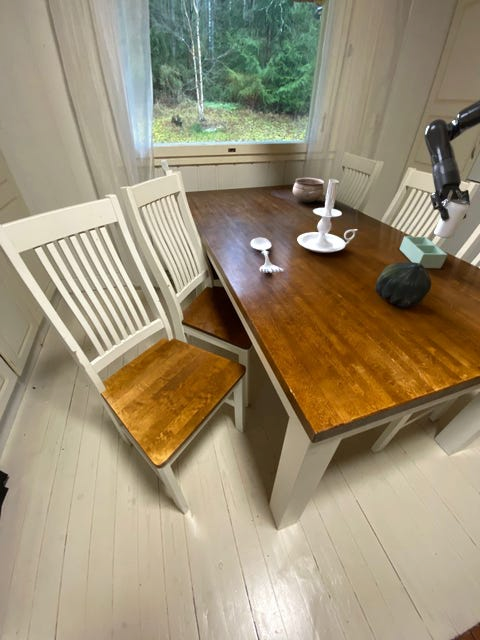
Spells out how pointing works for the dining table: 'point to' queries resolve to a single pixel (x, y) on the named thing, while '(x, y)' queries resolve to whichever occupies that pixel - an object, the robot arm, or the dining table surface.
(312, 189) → the cooking pot
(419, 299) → the squash
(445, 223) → the can
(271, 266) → the spoon
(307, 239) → the candlestick
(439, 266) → the divided box
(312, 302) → the dining table surface
